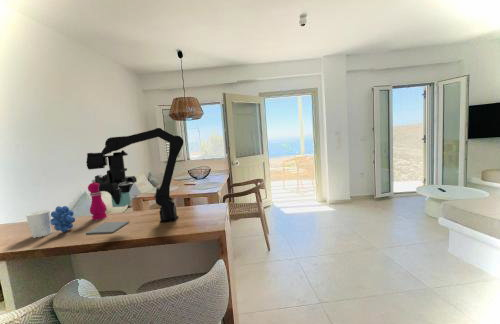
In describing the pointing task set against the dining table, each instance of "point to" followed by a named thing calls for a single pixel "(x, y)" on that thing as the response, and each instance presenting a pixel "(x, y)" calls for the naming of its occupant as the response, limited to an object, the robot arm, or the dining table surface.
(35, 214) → the white cup
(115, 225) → the gray mat
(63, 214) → the grapes
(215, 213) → the dining table surface
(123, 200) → the teal block
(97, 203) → the pepper mill
